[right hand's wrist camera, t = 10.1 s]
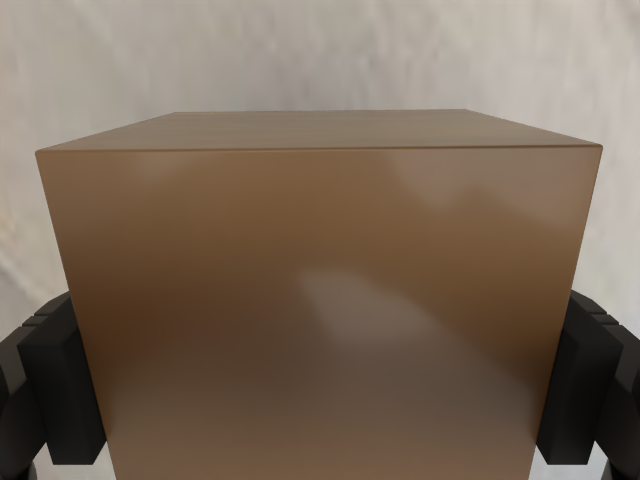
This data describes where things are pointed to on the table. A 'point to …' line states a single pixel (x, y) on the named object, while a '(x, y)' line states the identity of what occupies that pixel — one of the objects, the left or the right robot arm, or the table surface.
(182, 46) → the table surface
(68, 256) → the wide beam
